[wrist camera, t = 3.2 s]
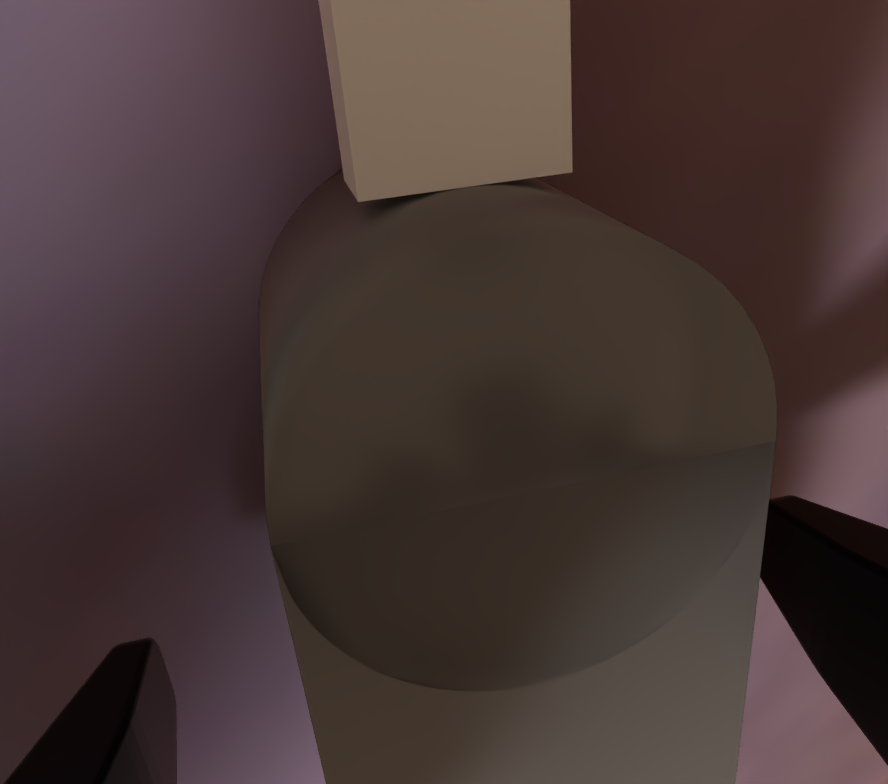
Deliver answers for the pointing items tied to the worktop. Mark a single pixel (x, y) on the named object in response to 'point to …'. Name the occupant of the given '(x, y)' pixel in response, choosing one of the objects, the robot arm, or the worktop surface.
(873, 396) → the worktop surface
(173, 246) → the worktop surface
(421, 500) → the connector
